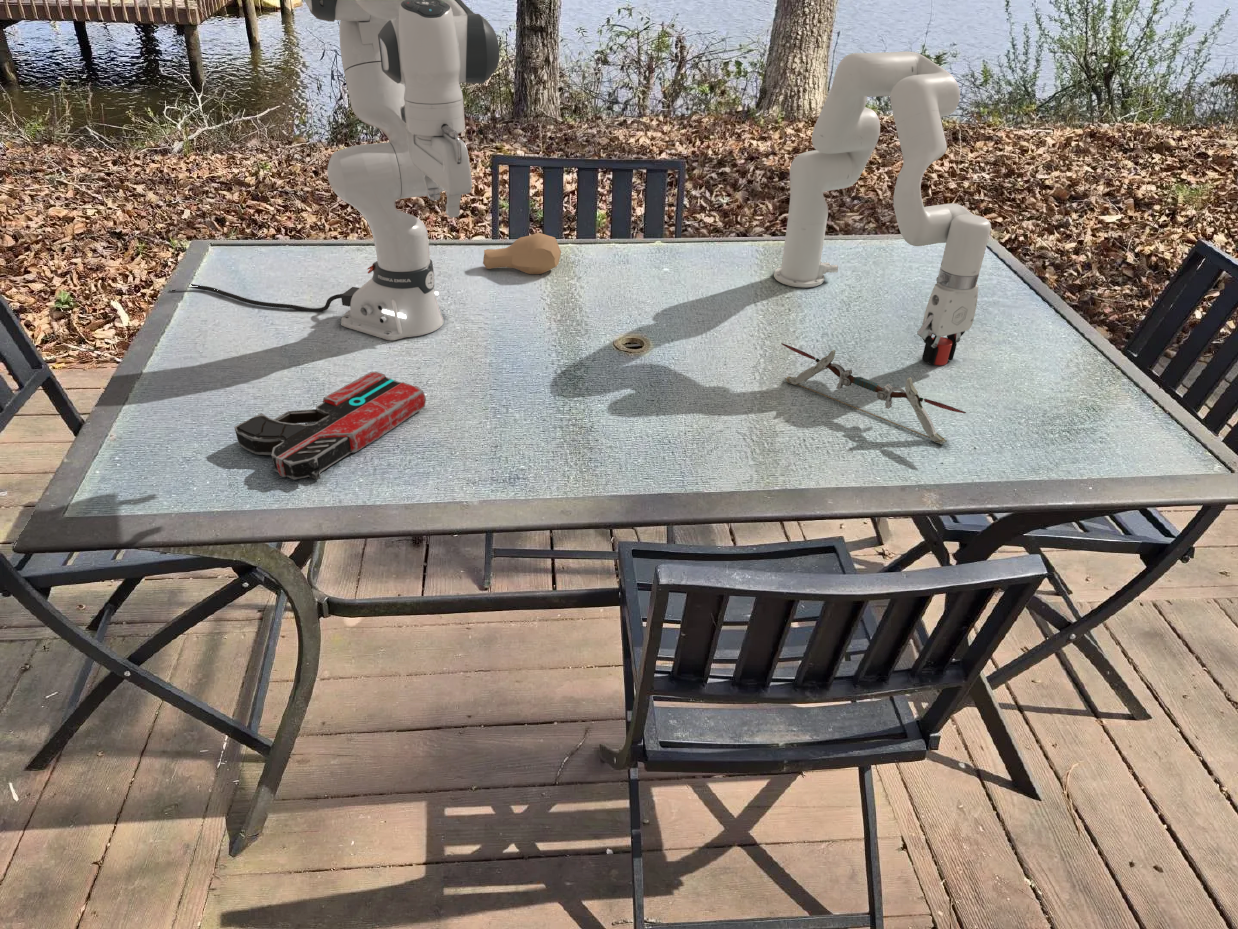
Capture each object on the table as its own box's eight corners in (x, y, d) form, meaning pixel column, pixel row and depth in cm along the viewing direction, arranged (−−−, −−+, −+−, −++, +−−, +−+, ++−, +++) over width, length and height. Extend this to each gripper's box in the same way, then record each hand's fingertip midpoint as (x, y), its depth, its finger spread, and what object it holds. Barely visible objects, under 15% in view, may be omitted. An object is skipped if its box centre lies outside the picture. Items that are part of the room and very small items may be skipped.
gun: (219, 431, 148) (300, 468, 140) (353, 358, 170) (430, 387, 162) (225, 453, 150) (305, 490, 143) (356, 378, 172) (432, 408, 164)
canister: (928, 364, 185) (933, 344, 183) (924, 355, 189) (929, 335, 186) (949, 366, 185) (954, 346, 182) (945, 356, 188) (950, 337, 186)
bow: (958, 447, 158) (972, 398, 152) (954, 450, 157) (967, 402, 151) (779, 375, 179) (785, 330, 174) (774, 378, 178) (780, 333, 172)
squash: (562, 278, 220) (556, 246, 214) (484, 285, 222) (476, 253, 216) (564, 255, 228) (559, 224, 222) (489, 262, 230) (481, 231, 223)
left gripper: (478, 131, 129) (484, 223, 136) (434, 103, 143) (441, 188, 151) (437, 135, 126) (445, 229, 134) (396, 106, 141) (406, 192, 149)
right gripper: (939, 291, 171) (919, 374, 181) (1002, 278, 177) (979, 359, 187) (912, 277, 176) (894, 359, 186) (974, 266, 183) (954, 345, 193)
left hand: (443, 207), depth 143 cm, fingers open, 8 cm apart
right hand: (937, 358), depth 187 cm, fingers closed on canister, 4 cm apart
